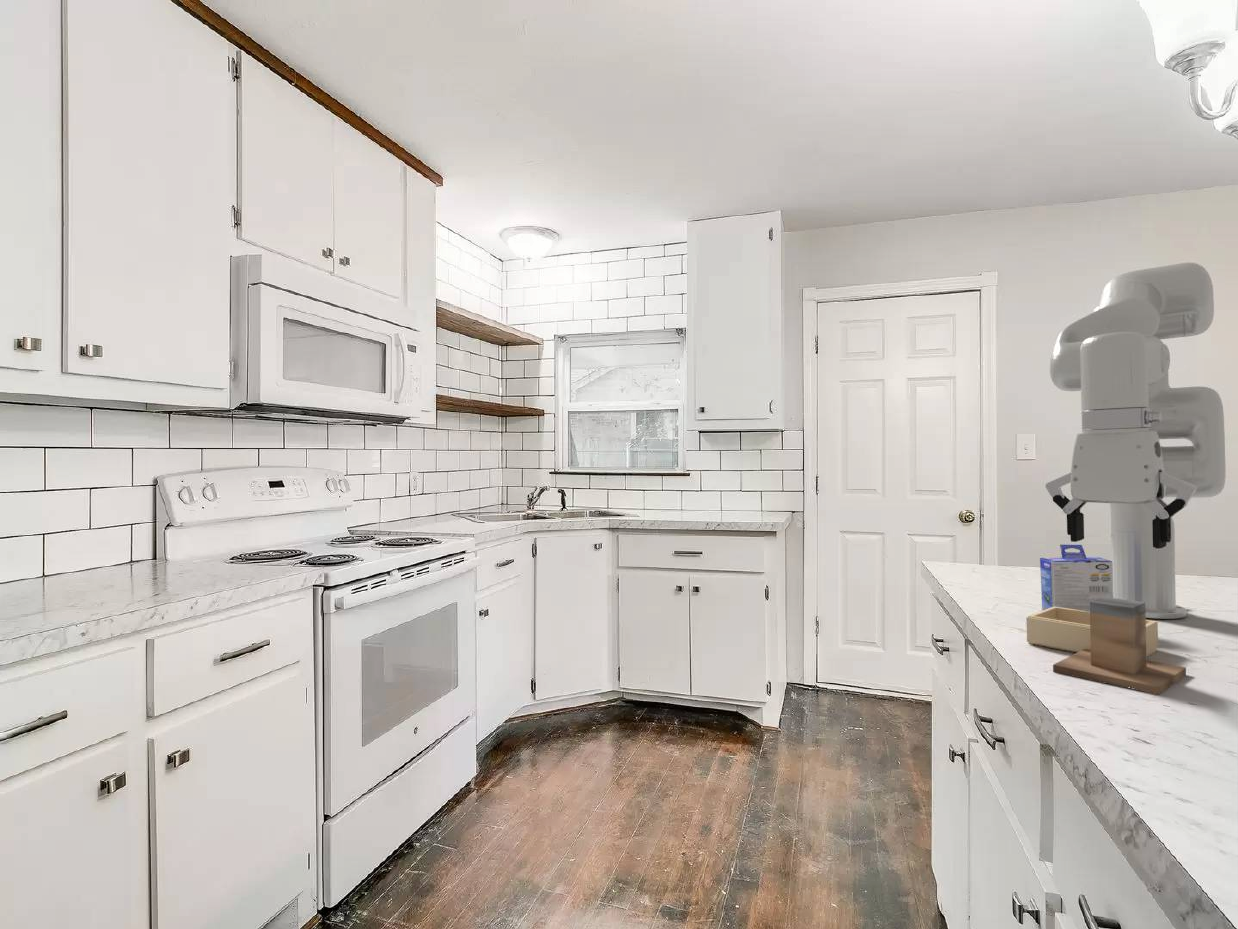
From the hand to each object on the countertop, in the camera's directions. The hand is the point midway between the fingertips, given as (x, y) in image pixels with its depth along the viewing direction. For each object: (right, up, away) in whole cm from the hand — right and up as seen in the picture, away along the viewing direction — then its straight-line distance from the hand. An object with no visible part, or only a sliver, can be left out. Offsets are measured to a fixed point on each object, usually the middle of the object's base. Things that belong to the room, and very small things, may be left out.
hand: (1116, 543), depth 93 cm
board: (0, -18, 0) cm, 18 cm away
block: (0, -17, 0) cm, 17 cm away
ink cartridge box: (+11, -18, +24) cm, 32 cm away
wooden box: (+5, -18, +12) cm, 22 cm away
